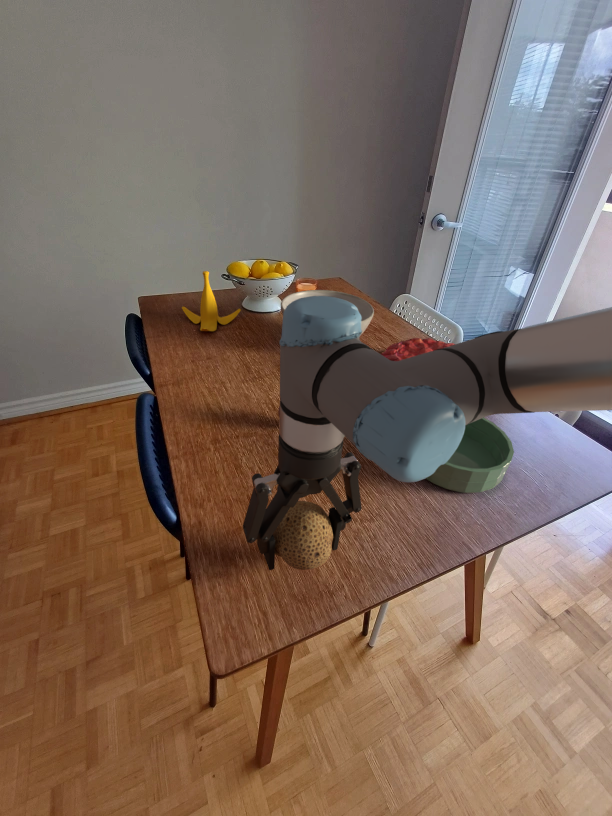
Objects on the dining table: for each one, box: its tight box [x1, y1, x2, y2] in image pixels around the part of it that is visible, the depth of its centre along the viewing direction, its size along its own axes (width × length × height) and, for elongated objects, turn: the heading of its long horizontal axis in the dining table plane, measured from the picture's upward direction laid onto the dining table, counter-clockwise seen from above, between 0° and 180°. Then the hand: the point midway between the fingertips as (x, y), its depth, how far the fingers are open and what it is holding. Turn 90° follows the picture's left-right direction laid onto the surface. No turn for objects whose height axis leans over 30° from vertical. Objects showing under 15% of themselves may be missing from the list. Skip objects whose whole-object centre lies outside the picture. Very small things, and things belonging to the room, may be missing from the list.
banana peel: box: [181, 270, 242, 332], centre depth 121 cm, size 17×19×17 cm
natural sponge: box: [273, 500, 333, 571], centre depth 57 cm, size 9×9×10 cm
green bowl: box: [424, 417, 515, 494], centre depth 80 cm, size 20×20×6 cm
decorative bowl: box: [280, 289, 375, 335], centre depth 117 cm, size 27×27×12 cm
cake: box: [380, 337, 456, 361], centre depth 106 cm, size 25×25×8 cm
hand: (301, 551), depth 59 cm, fingers closed on natural sponge, 9 cm apart
